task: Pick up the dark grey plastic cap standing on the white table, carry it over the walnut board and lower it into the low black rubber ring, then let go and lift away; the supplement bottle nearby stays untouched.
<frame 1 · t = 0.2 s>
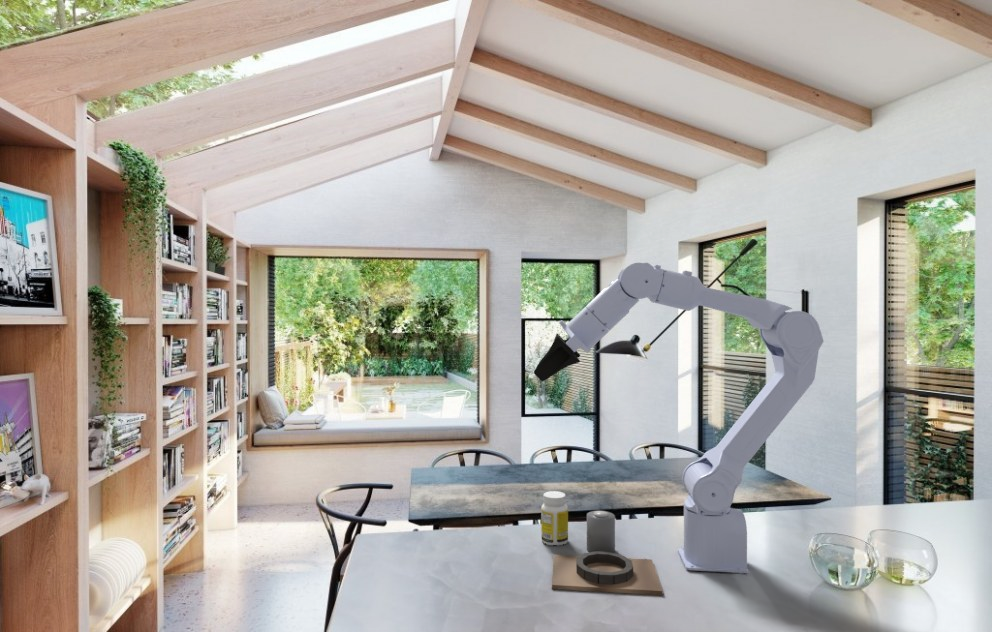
hand: (538, 374, 100), 30 cm above the kitchen island, tool tilted 45°, fingers open, 7 cm apart
ring board: (604, 575, 92), on the kitchen island
cap: (600, 550, 102), on the kitchen island
supplement bottle: (554, 542, 106), on the kitchen island
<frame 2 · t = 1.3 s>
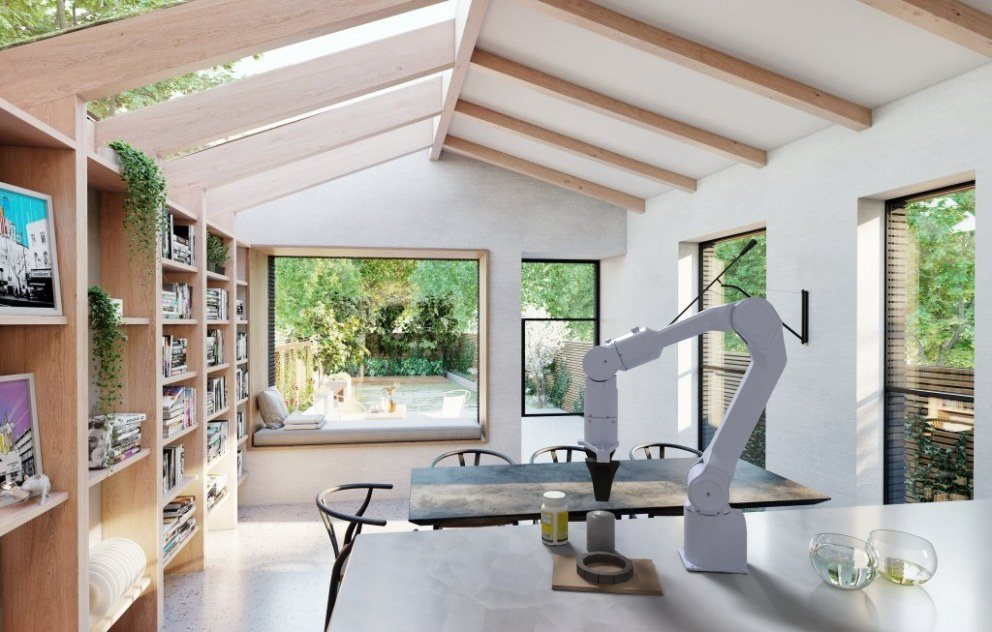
hand: (600, 494, 102), 10 cm above the kitchen island, tool pointing down, fingers open, 7 cm apart
nothing on the kitchen island moved.
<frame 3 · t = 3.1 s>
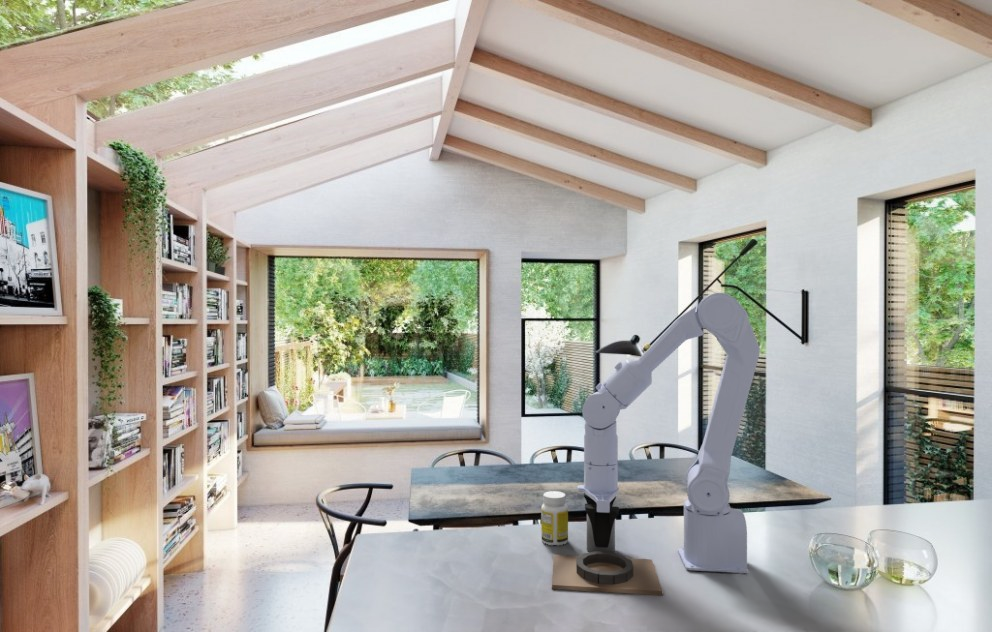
hand: (600, 540, 102), 2 cm above the kitchen island, tool pointing down, fingers closed on cap, 5 cm apart
cap: (600, 549, 102), on the kitchen island, touching gripper
everything else where it was.
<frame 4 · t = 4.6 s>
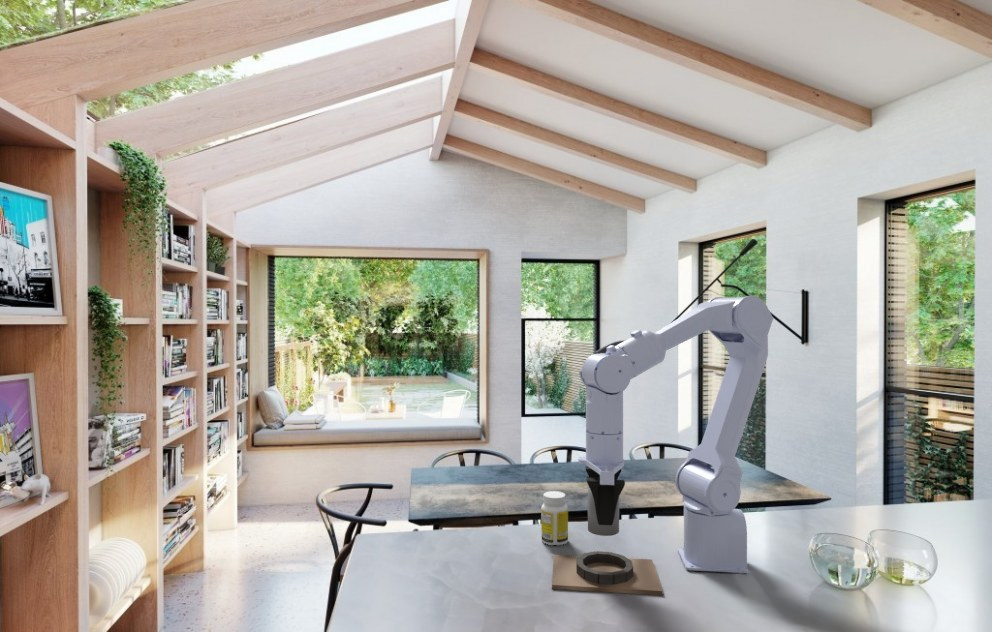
hand: (604, 518, 92), 9 cm above the kitchen island, tool pointing down, fingers closed on cap, 5 cm apart
cap: (603, 530, 92), point 7 cm above the kitchen island, touching gripper
everything else where it was.
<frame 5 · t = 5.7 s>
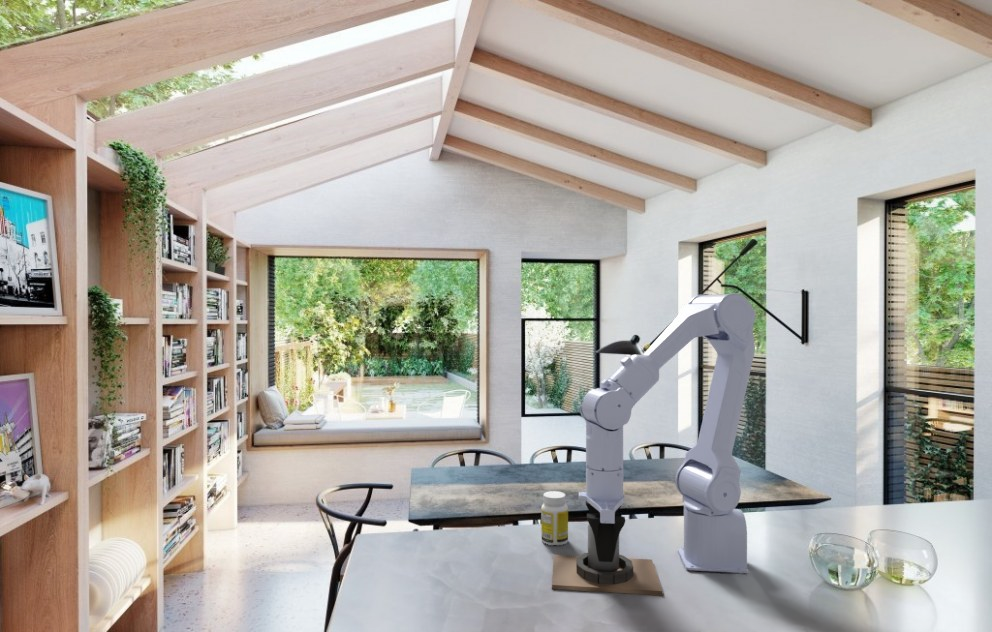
hand: (604, 553, 92), 3 cm above the kitchen island, tool pointing down, fingers closed on cap, 5 cm apart
cap: (603, 565, 92), point 2 cm above the kitchen island, touching gripper
everything else where it was.
when the fingers open (3 cm above the kitchen island, at t = 6.5 s): cap stays where it is, resting on ring board.
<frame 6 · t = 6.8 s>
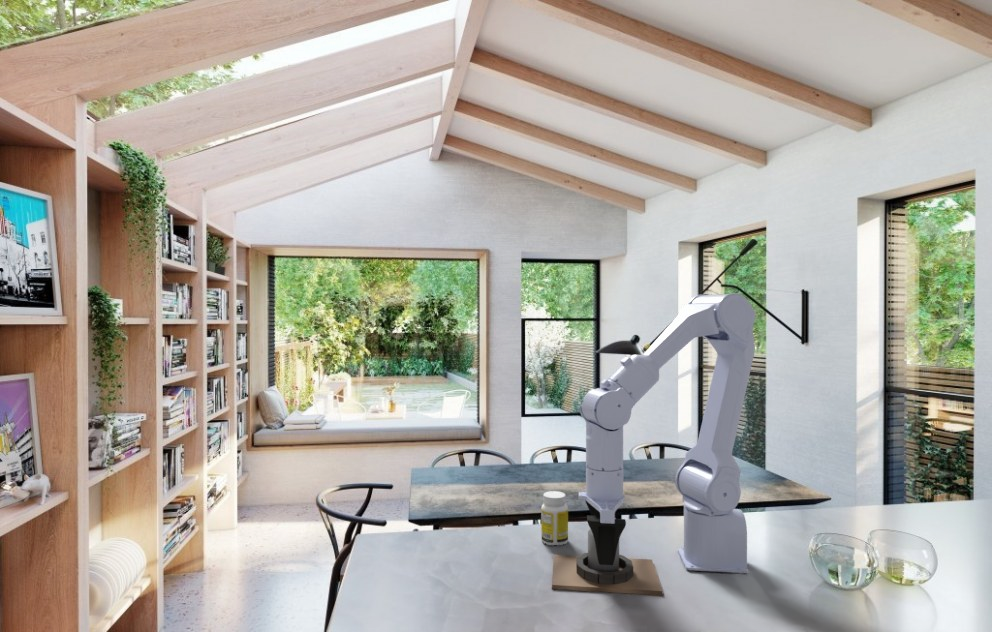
hand: (604, 553, 92), 3 cm above the kitchen island, tool pointing down, fingers open, 7 cm apart
cap: (603, 571, 92), point 1 cm above the kitchen island, touching ring board
everything else where it was.
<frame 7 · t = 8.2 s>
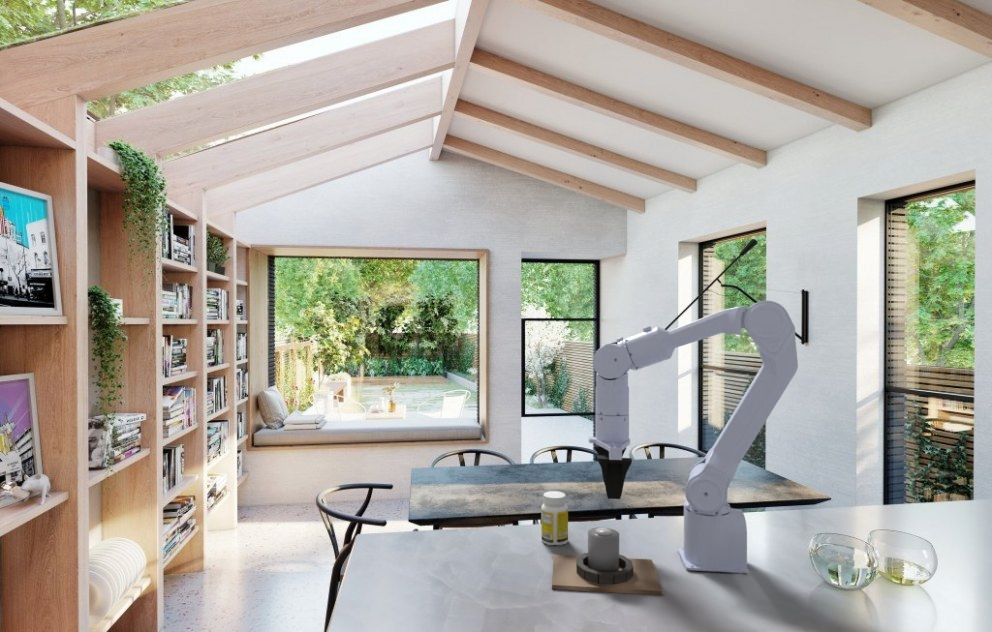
hand: (612, 491, 103), 10 cm above the kitchen island, tool pointing down, fingers open, 7 cm apart
nothing on the kitchen island moved.
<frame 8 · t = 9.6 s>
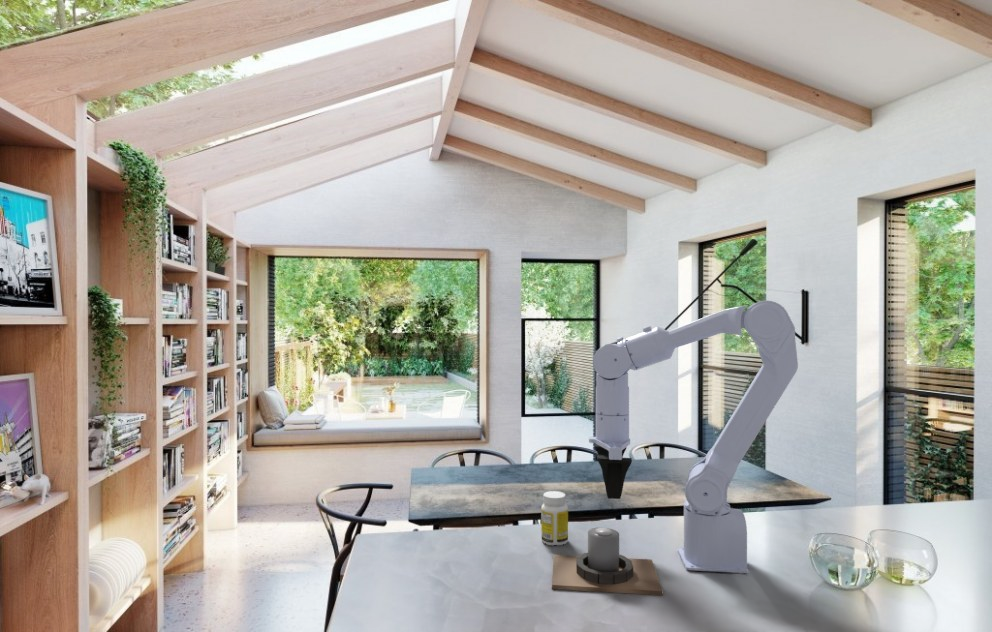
hand: (612, 491, 103), 10 cm above the kitchen island, tool pointing down, fingers open, 7 cm apart
nothing on the kitchen island moved.
at the end: cap 0.1 cm from the ring board (horizontally); cap tilted 0°; cap point 0.6 cm above the kitchen island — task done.
